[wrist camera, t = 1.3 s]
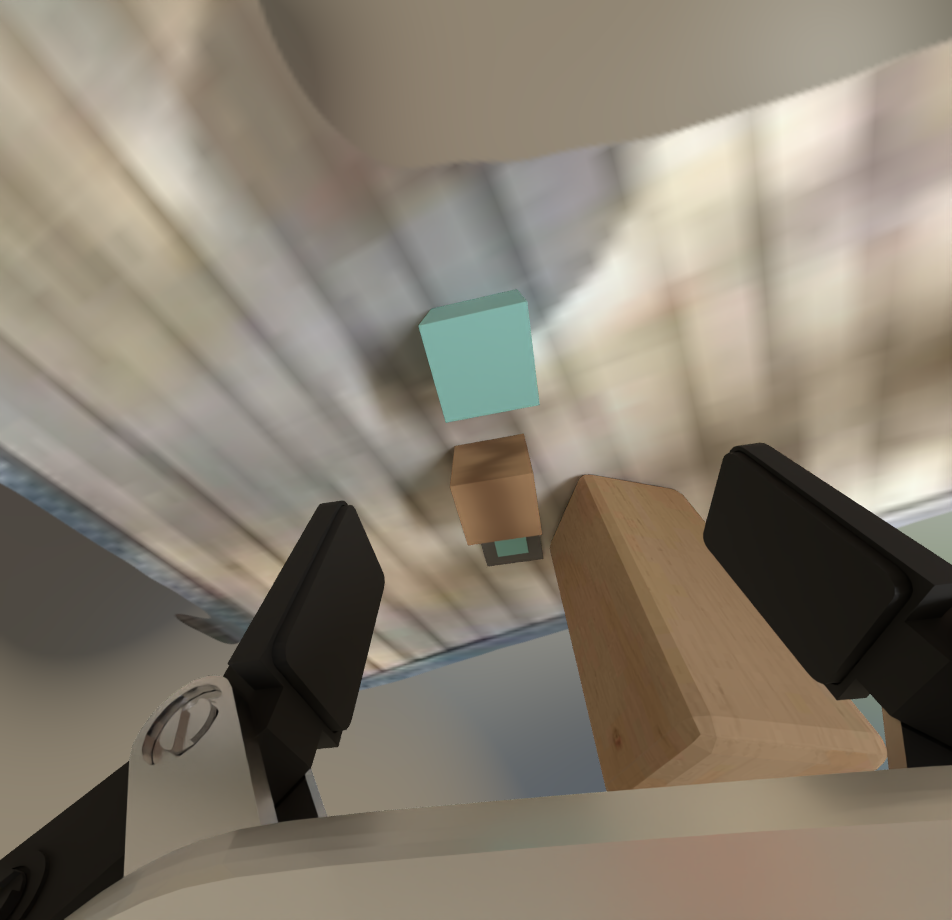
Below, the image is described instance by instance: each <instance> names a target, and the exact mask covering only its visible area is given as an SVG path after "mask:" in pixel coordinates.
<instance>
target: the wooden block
mask: <svg viewBox="0 0 952 920" xmlns="http://www.w3.org/2000/svg"><path fill="white" fill-rule="evenodd" d="M705 524H706V523H705V521H704V520H703V519H702V518H701V517H700V515H699V514H698V513H697V512H696V510H695V509H694V508H693V507H692V506H691V504H690V503H689V502H688V501H687V500H686V498H685V497H684V496H683V495H682V494H681V493H679V492H678V491H676V490H673V489H670V488H664V487H658V486H653V485H647V484H641V483H636V482H630V481H624V480H619V479H613V478H607V477H602V476H596V475H590V474H588V475H583V476H582V477H581V478H580V479H579V480H578V483H577V485H576V487H575V490H574V492H573V494H572V496H571V499H570V501H569V503H568V505H567V508H566V510H565V512H564V514H563V517H562V519H561V521H560V524H559V526H558V528H557V530H556V533H555V535H554V537H553V539H552V542H551V545H550V552H551V556H552V560H553V564H554V569H555V573H556V577H557V582H558V586H559V590H560V594H561V599H562V603H563V607H564V611H565V616H566V620H567V624H568V629H569V633H570V637H571V641H572V646H573V650H574V654H575V658H576V663H577V667H578V671H579V675H580V680H581V684H582V688H583V693H584V696H585V701H586V705H587V710H588V714H589V718H590V722H591V727H592V731H593V735H594V739H595V744H596V748H597V753H598V757H599V761H600V765H601V770H602V774H603V778H604V783H605V787H606V790H607V792H609V791H621V790H634V789H646V788H658V787H671V786H683V785H696V784H708V783H721V782H733V781H745V780H759V779H772V778H785V777H798V776H811V775H824V774H837V773H851V772H864V771H874V770H877V769H878V768H879V767H880V766H881V765H882V764H883V763H884V761H885V759H886V758H887V748H886V746H885V744H884V742H883V740H882V738H881V736H880V735H879V734H878V733H877V731H876V730H875V729H874V728H873V727H872V725H871V724H870V723H869V722H868V720H867V719H866V718H865V717H864V715H863V714H862V713H861V712H860V711H859V710H858V708H857V707H856V706H855V705H854V703H853V702H852V701H851V700H850V699H848V700H836V699H835V698H834V696H833V695H832V694H831V693H830V692H829V690H828V689H827V688H826V687H825V685H824V684H821V683H819V682H817V681H815V680H814V679H813V678H812V677H811V676H810V675H809V674H808V673H807V672H806V671H805V669H804V668H803V667H802V666H801V664H800V663H799V662H798V661H797V659H796V658H795V657H794V656H793V654H792V653H791V652H790V651H789V649H788V648H787V647H786V646H785V644H784V643H783V642H782V641H781V639H780V638H779V637H778V636H777V634H776V633H775V632H774V631H773V629H772V628H771V627H770V626H769V624H768V623H767V622H766V621H765V619H764V618H763V617H762V616H761V614H760V613H759V612H758V611H757V609H756V608H755V607H754V606H753V604H752V603H751V602H750V601H749V599H748V598H747V597H746V596H745V594H744V593H743V592H742V591H741V589H740V588H739V587H738V586H737V584H736V583H735V582H734V581H733V580H732V578H731V577H730V576H729V575H728V573H727V572H726V571H725V570H724V568H723V567H722V566H721V565H720V563H719V562H718V561H717V560H716V558H715V557H714V556H713V555H712V553H711V552H710V551H709V550H708V548H707V547H706V545H705V543H704V540H703V532H704V528H705Z"/></svg>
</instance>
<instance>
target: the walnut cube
mask: <svg viewBox="0 0 952 920" xmlns="http://www.w3.org/2000/svg"><path fill="white" fill-rule="evenodd" d="M450 489H451V492H452V495H453V499H454V502H455V505H456V508H457V512H458V515H459V518H460V521H461V525H462V528H463V531H464V534H465V538H466V541H467V544H468V545H474V544H481V543H488V542H495V541H502V540H509V539H516V538H523V537H530V536H537V535H542V530H541V523H540V516H539V510H538V503H537V496H536V489H535V482H534V476H533V470H532V466H531V462H530V458H529V453H528V449H527V445H526V441H525V437H524V434H519V435H514V436H508V437H503V438H497V439H492V440H486V441H480V442H475V443H469V444H464V445H458V446H455V449H454V457H453V465H452V473H451V481H450Z"/></svg>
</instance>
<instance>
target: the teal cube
mask: <svg viewBox="0 0 952 920" xmlns="http://www.w3.org/2000/svg"><path fill="white" fill-rule="evenodd" d="M419 330H420V333H421V337H422V340H423V344H424V347H425V351H426V355H427V358H428V362H429V365H430V369H431V372H432V376H433V379H434V383H435V386H436V390H437V393H438V397H439V400H440V404H441V407H442V411H443V414H444V418H445V421H446V423H447V422H452V421H457V420H463V419H468V418H473V417H478V416H484V415H489V414H494V413H500V412H505V411H510V410H515V409H521V408H526V407H531V406H537V405H540V404H539V396H538V388H537V379H536V371H535V363H534V354H533V346H532V338H531V329H530V321H529V313H528V305H527V301H526V299H525V298H524V297H523V296H522V295H521V294H520V293H519V291H518V290H517V289H516V290H511V291H507V292H503V293H498V294H494V295H490V296H485V297H481V298H477V299H472V300H468V301H464V302H459V303H455V304H451V305H446V306H442V307H438V308H433V309H431V310H430V311H429V312H428V314H427V315H426V316H425V318H424V319H423V320H422V322H421V323H420V324H419Z"/></svg>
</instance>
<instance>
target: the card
mask: <svg viewBox="0 0 952 920" xmlns="http://www.w3.org/2000/svg"><path fill="white" fill-rule="evenodd" d="M481 545H482V548H483V552H484V555H485V559H486V562H487V566H494V565H502V564H509V563H516V562H523V561H531V560H538V559H543V554H542V548H541V541H540V535H537V536H530V537H523V538H516V539H509V540H502V541H495V542H488V543H481Z"/></svg>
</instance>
